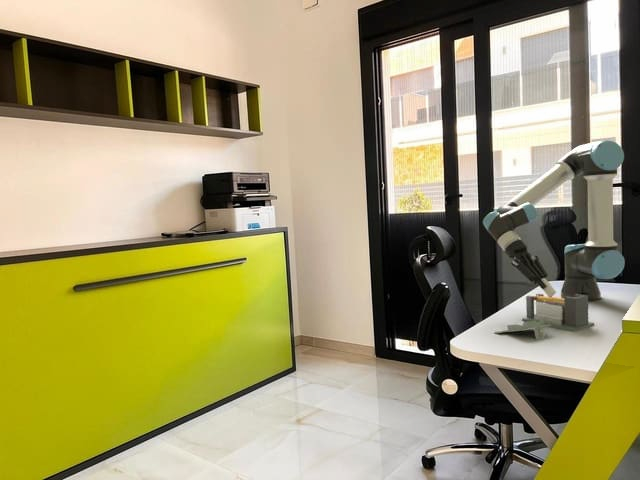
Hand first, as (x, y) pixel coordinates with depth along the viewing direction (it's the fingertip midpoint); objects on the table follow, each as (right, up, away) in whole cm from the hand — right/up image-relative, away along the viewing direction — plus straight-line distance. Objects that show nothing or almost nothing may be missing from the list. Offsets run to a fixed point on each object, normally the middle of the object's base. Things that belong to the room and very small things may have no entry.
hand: (552, 294), depth 170 cm
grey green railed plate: (+1, -10, 0) cm, 10 cm away
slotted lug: (+5, -9, -7) cm, 12 cm away
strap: (+1, -2, 0) cm, 2 cm away
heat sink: (0, -9, +2) cm, 9 cm away
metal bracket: (-14, -12, -11) cm, 22 cm away
